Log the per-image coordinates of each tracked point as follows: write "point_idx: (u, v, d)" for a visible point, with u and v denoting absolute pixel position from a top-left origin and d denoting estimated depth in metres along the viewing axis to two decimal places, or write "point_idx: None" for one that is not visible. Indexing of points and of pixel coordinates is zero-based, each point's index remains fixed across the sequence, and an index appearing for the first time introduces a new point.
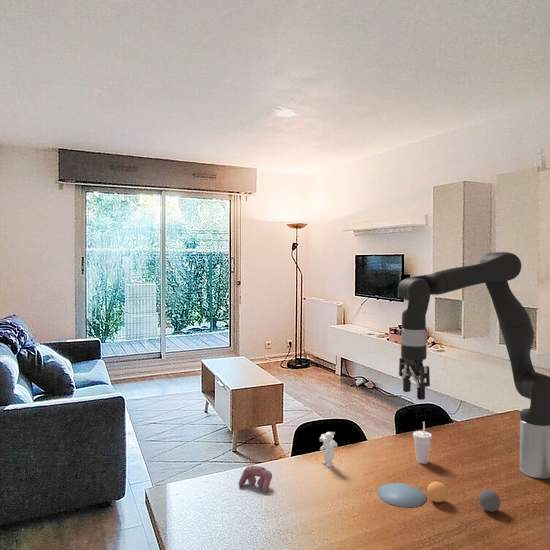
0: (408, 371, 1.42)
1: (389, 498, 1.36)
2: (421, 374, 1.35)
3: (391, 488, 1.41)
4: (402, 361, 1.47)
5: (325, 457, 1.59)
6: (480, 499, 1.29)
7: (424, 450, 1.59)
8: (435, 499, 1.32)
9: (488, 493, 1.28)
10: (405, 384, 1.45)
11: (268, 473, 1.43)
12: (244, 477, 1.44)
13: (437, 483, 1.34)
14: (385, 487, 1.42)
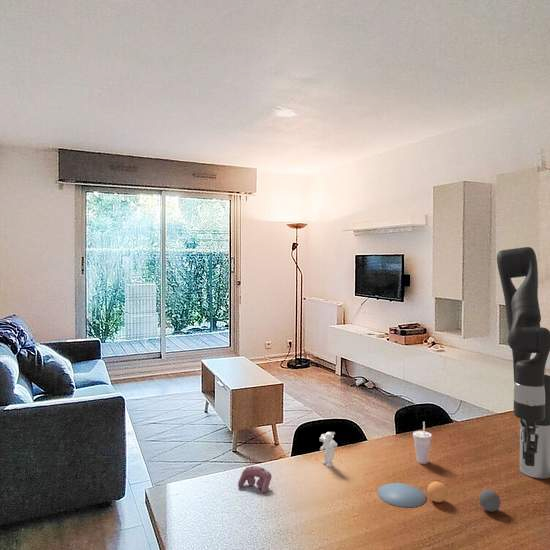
0: None
1: (389, 498, 1.36)
2: None
3: (391, 488, 1.41)
4: None
5: (325, 457, 1.59)
6: (480, 499, 1.29)
7: (424, 450, 1.59)
8: (435, 499, 1.32)
9: (488, 493, 1.28)
10: None
11: (267, 474, 1.42)
12: (243, 478, 1.44)
13: (437, 483, 1.34)
14: (385, 487, 1.42)
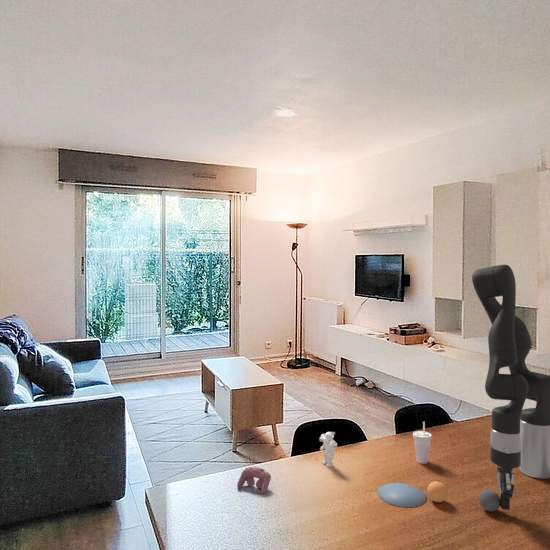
0: None
1: (389, 498, 1.36)
2: None
3: (391, 488, 1.41)
4: None
5: (325, 457, 1.59)
6: (480, 499, 1.29)
7: (424, 450, 1.59)
8: (435, 499, 1.32)
9: (488, 493, 1.28)
10: None
11: (267, 474, 1.42)
12: (243, 479, 1.43)
13: (437, 483, 1.34)
14: (385, 487, 1.42)
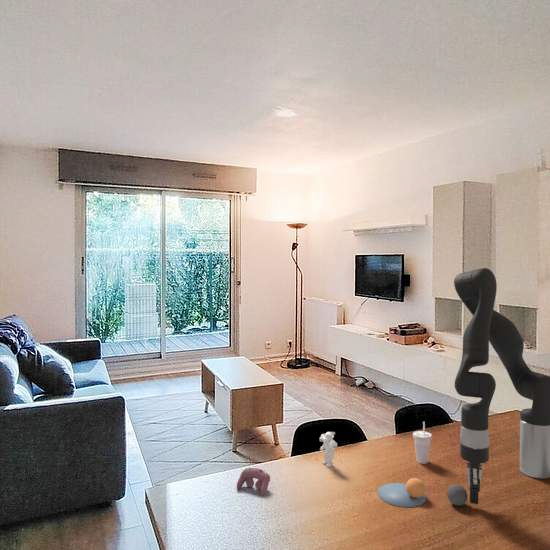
0: None
1: (389, 498, 1.36)
2: None
3: (391, 488, 1.41)
4: None
5: (325, 457, 1.59)
6: (464, 502, 1.31)
7: (424, 450, 1.59)
8: (418, 491, 1.34)
9: (454, 504, 1.32)
10: None
11: (266, 475, 1.41)
12: (242, 479, 1.43)
13: None
14: (385, 487, 1.42)
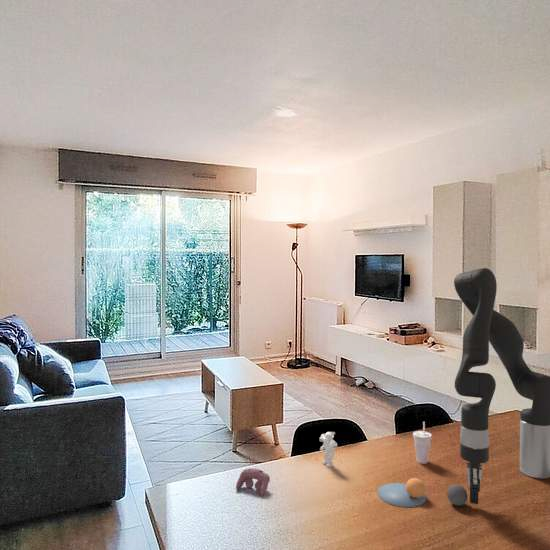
0: None
1: (389, 498, 1.36)
2: None
3: (391, 488, 1.41)
4: None
5: (325, 457, 1.59)
6: (464, 502, 1.31)
7: (424, 450, 1.59)
8: (418, 491, 1.34)
9: (454, 504, 1.32)
10: None
11: (266, 476, 1.41)
12: (241, 480, 1.42)
13: None
14: (385, 487, 1.42)
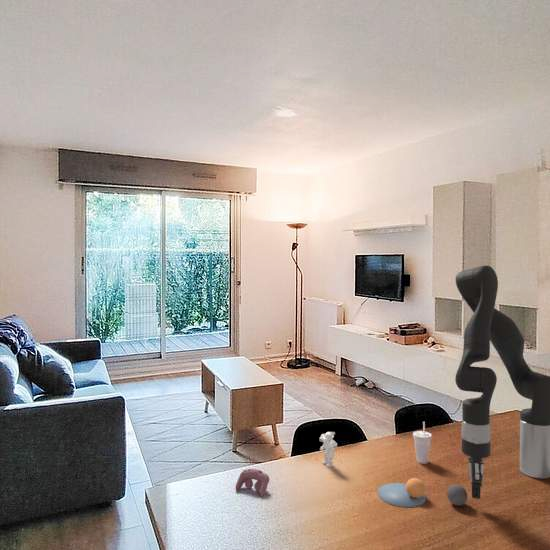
0: None
1: (389, 498, 1.36)
2: None
3: (391, 488, 1.41)
4: None
5: (325, 457, 1.59)
6: (464, 502, 1.31)
7: (424, 450, 1.59)
8: (418, 491, 1.34)
9: (454, 504, 1.32)
10: None
11: (265, 476, 1.40)
12: (241, 480, 1.42)
13: None
14: (385, 487, 1.42)
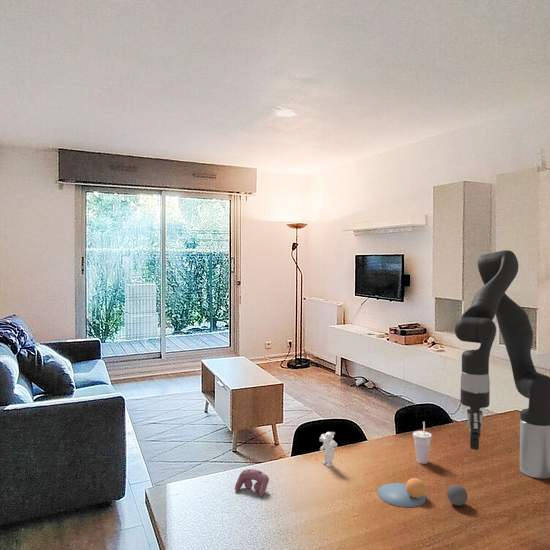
0: None
1: (389, 498, 1.36)
2: None
3: (391, 488, 1.41)
4: None
5: (325, 457, 1.59)
6: (464, 502, 1.31)
7: (424, 450, 1.59)
8: (418, 491, 1.34)
9: (454, 504, 1.32)
10: None
11: (265, 477, 1.40)
12: (240, 481, 1.42)
13: None
14: (385, 487, 1.42)
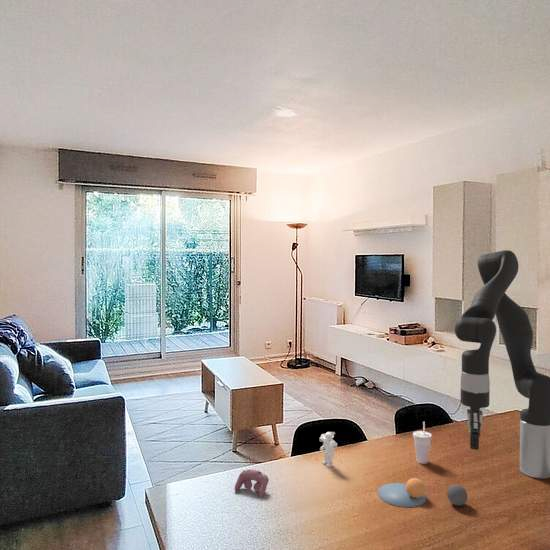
0: None
1: (389, 498, 1.36)
2: None
3: (391, 488, 1.41)
4: None
5: (325, 457, 1.59)
6: (464, 502, 1.31)
7: (424, 450, 1.59)
8: (418, 491, 1.34)
9: (454, 504, 1.32)
10: None
11: (264, 477, 1.40)
12: (240, 481, 1.41)
13: None
14: (385, 487, 1.42)
